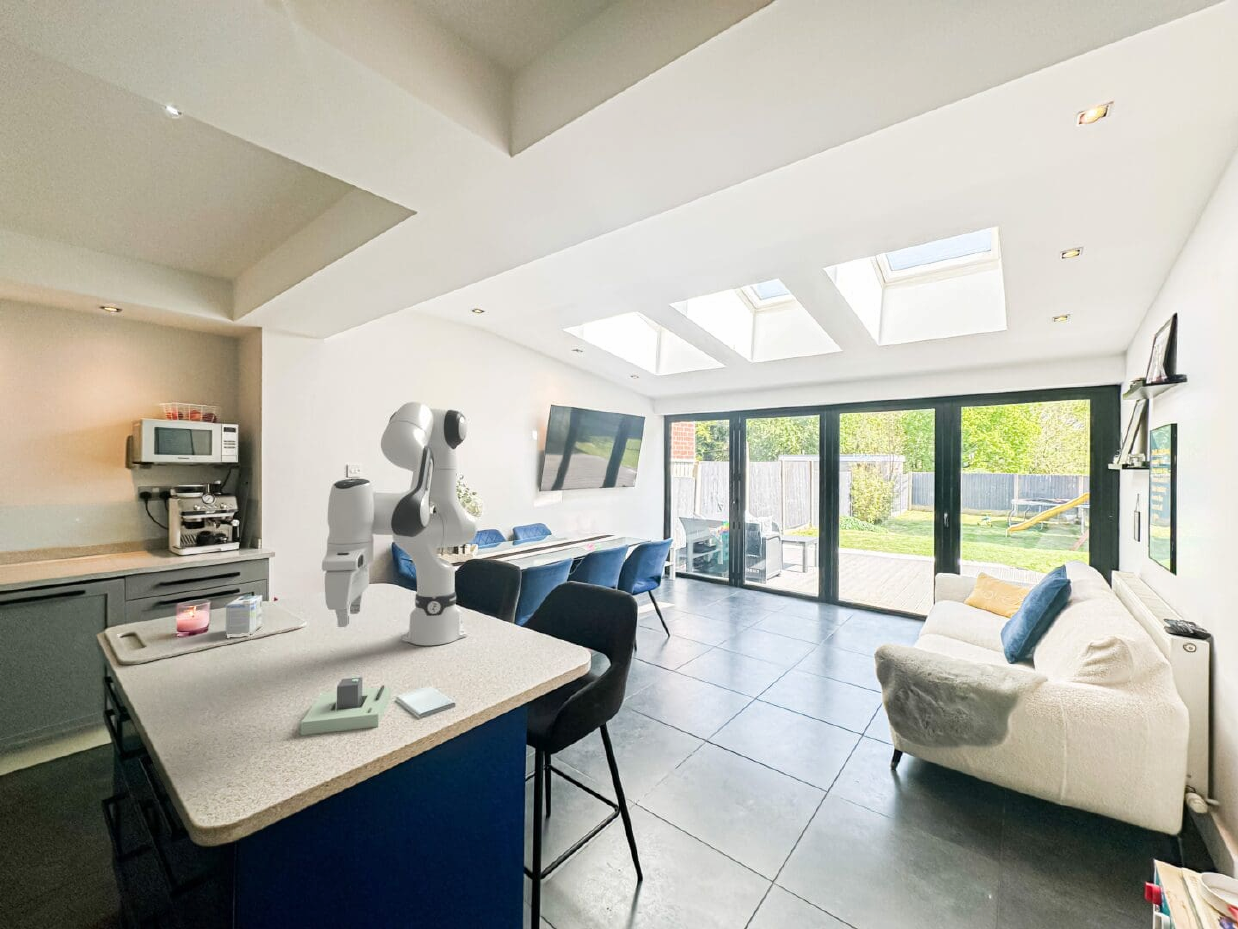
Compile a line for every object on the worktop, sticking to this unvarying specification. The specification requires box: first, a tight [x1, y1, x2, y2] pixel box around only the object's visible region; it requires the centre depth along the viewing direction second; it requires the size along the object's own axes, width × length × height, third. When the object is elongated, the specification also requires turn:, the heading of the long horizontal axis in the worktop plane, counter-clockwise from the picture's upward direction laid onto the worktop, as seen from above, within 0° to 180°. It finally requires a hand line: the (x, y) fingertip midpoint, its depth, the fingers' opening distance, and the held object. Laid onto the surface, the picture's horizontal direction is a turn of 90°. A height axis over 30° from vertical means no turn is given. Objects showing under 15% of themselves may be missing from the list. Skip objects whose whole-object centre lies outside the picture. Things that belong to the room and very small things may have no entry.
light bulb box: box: [225, 595, 263, 636], centre depth 164 cm, size 11×7×11 cm, turn 17°
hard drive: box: [395, 685, 457, 720], centre depth 114 cm, size 2×8×12 cm
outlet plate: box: [300, 685, 392, 736], centre depth 109 cm, size 14×14×3 cm
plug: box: [336, 676, 363, 710], centre depth 109 cm, size 4×4×7 cm
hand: (349, 619), depth 109 cm, fingers open, 8 cm apart
